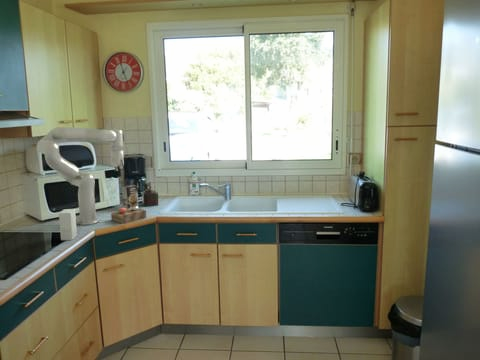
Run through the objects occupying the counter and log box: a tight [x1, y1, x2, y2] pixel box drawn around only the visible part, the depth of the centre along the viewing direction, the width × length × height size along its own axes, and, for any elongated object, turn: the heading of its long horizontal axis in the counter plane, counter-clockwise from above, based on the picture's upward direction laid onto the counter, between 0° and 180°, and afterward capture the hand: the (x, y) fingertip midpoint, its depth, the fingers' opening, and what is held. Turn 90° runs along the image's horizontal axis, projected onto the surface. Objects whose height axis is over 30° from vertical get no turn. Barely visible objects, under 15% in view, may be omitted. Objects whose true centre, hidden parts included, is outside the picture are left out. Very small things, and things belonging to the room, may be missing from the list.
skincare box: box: [58, 208, 78, 241], centre depth 220 cm, size 8×7×16 cm
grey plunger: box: [131, 205, 140, 211], centre depth 261 cm, size 5×5×5 cm
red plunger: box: [117, 207, 126, 214], centre depth 254 cm, size 5×5×5 cm
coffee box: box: [121, 184, 139, 209], centre depth 286 cm, size 9×6×16 cm
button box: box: [110, 208, 147, 225], centre depth 258 cm, size 18×12×5 cm, turn 137°
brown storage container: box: [141, 182, 159, 207], centre depth 293 cm, size 16×11×18 cm
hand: (118, 176), depth 263 cm, fingers closed
